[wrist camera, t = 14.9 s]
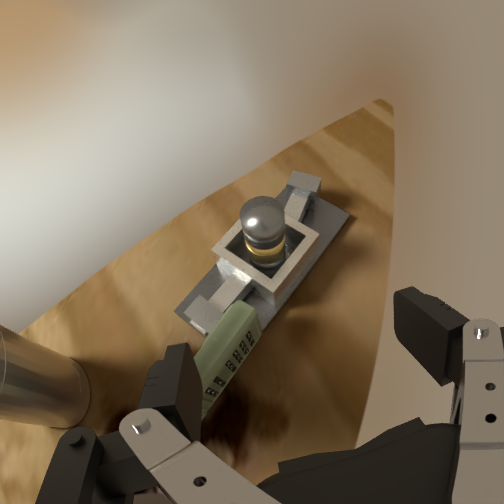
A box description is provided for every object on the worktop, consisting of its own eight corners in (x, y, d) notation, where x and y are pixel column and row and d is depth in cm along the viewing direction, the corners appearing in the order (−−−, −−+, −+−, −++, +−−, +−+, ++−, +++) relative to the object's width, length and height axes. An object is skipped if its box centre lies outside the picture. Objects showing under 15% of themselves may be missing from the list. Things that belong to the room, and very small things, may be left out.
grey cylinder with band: (262, 283, 36) (255, 240, 28) (243, 256, 37) (231, 209, 30) (292, 264, 36) (293, 217, 28) (272, 239, 38) (268, 189, 30)
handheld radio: (268, 333, 34) (138, 505, 25) (243, 318, 35) (116, 486, 26) (262, 312, 28) (107, 516, 19) (232, 294, 30) (83, 492, 21)
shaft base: (237, 363, 32) (230, 354, 28) (176, 313, 36) (161, 297, 31) (349, 218, 40) (355, 193, 35) (290, 186, 43) (290, 160, 39)
